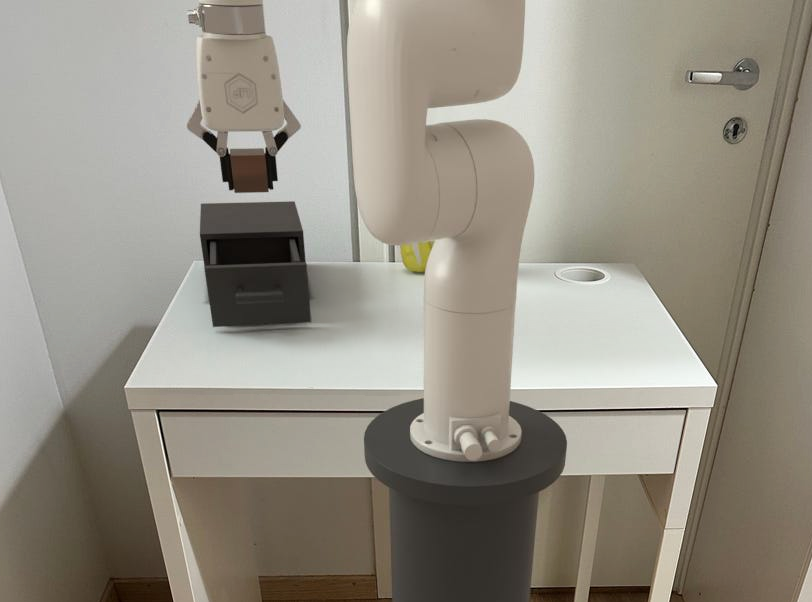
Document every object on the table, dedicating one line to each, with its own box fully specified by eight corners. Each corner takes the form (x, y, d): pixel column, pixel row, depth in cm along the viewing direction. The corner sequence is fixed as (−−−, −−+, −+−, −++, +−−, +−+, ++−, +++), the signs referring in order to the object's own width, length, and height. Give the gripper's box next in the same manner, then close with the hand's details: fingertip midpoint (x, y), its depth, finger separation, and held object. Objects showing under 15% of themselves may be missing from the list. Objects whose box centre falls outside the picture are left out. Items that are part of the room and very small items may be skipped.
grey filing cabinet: (308, 298, 138) (303, 230, 132) (209, 302, 135) (199, 234, 129) (299, 263, 151) (294, 201, 145) (209, 266, 149) (200, 203, 143)
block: (268, 192, 120) (265, 155, 117) (234, 193, 119) (230, 155, 116) (267, 184, 123) (263, 148, 120) (233, 185, 122) (229, 148, 120)
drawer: (313, 333, 124) (309, 274, 119) (213, 338, 121) (204, 278, 117) (302, 285, 140) (297, 231, 135) (212, 289, 137) (205, 234, 132)
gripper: (159, 24, 105) (184, 196, 117) (306, 26, 108) (317, 193, 120) (161, 18, 111) (186, 182, 122) (301, 20, 114) (312, 180, 125)
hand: (250, 186), depth 121 cm, fingers closed on block, 4 cm apart
